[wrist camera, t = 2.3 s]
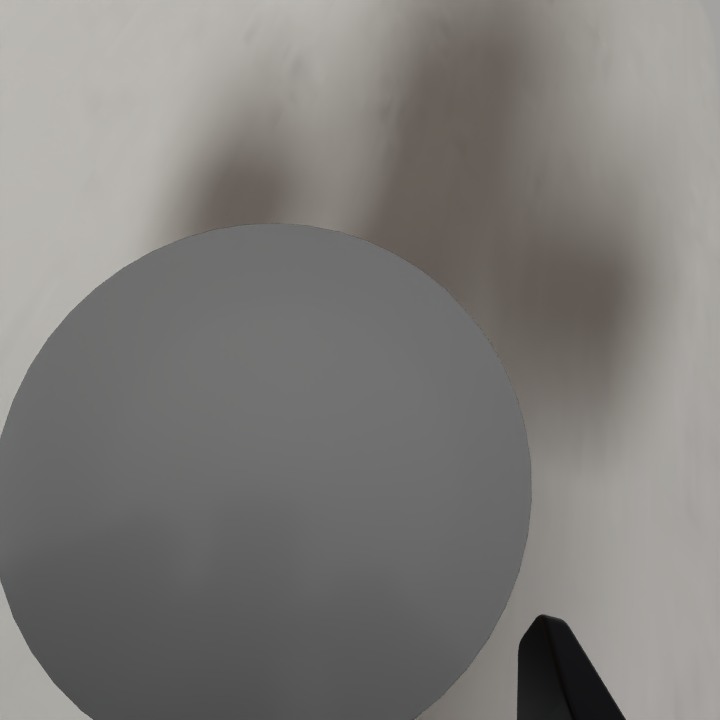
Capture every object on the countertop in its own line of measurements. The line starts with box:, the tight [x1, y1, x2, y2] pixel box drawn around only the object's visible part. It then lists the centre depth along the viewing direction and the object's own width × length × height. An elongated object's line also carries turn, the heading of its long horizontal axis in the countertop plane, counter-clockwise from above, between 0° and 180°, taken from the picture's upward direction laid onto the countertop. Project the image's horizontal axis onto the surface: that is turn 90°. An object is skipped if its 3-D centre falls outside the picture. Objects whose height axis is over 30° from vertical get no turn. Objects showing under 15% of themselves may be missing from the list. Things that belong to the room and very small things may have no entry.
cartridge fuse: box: [0, 223, 532, 720], centre depth 12 cm, size 5×5×15 cm
